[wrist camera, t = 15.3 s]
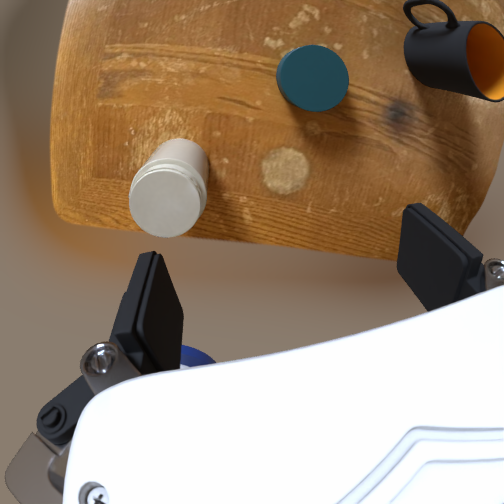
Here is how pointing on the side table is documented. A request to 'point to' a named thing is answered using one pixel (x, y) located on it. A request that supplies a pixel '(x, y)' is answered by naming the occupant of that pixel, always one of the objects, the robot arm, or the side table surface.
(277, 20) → the side table surface
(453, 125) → the side table surface
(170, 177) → the jar
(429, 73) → the mug
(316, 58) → the jar lid
